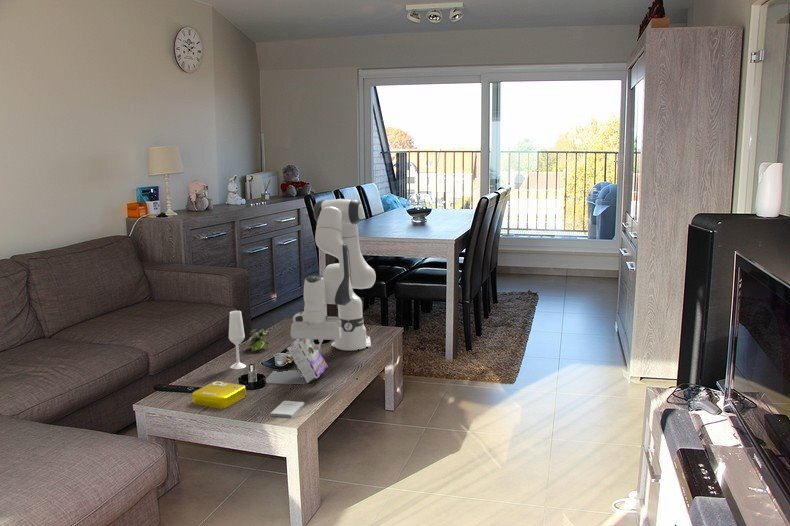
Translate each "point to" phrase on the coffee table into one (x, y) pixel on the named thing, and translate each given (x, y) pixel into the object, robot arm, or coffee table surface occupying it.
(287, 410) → the external hard drive
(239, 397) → the element tile
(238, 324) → the champagne flute
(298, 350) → the candy box
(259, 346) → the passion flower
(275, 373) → the mat
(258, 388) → the coffee table surface
